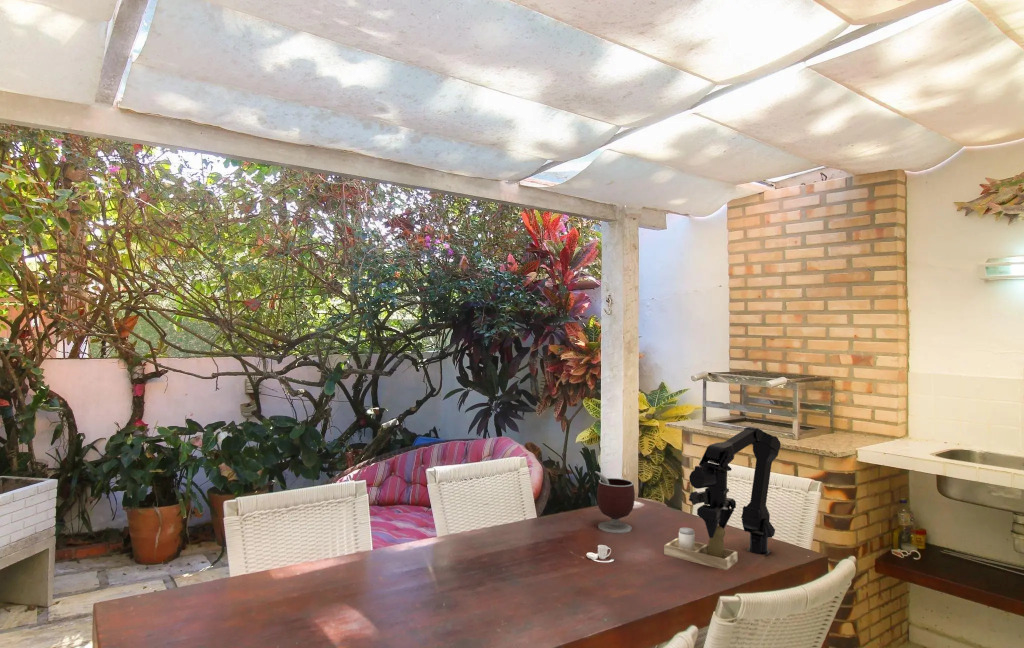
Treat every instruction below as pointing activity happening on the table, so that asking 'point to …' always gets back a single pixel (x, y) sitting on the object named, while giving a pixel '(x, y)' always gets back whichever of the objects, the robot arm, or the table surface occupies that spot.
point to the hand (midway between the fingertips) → (716, 534)
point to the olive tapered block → (717, 544)
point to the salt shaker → (686, 539)
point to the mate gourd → (615, 502)
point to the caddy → (701, 555)
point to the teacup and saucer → (600, 554)
